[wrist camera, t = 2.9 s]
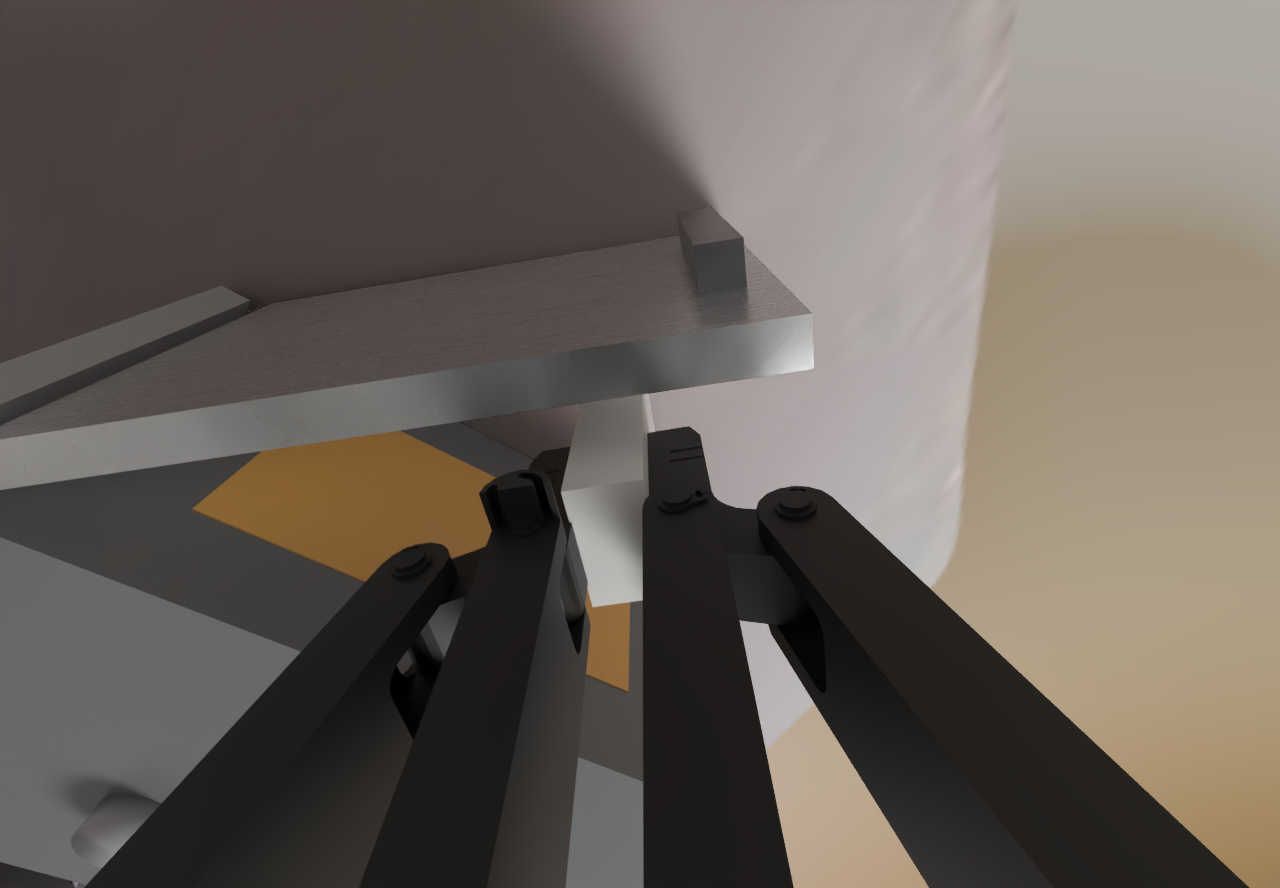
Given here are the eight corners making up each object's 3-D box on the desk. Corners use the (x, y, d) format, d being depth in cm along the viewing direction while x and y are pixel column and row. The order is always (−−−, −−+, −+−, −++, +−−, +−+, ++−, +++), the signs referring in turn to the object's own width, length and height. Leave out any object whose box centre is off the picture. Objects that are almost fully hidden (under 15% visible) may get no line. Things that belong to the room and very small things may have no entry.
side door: (729, 258, 20) (813, 368, 11) (284, 330, 22) (-14, 492, 12) (724, 195, 20) (810, 252, 10) (259, 274, 21) (-85, 398, 11)
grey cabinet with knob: (625, 727, 32) (617, 1057, 20) (156, 539, 26) (-216, 847, 15) (771, 559, 27) (869, 871, 15) (229, 282, 21) (-245, 450, 10)
